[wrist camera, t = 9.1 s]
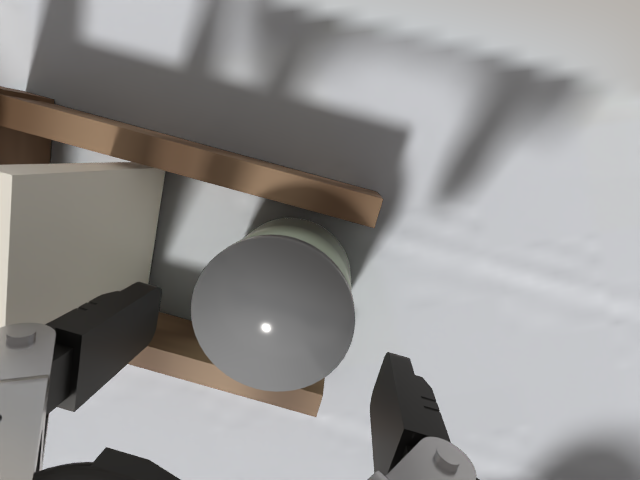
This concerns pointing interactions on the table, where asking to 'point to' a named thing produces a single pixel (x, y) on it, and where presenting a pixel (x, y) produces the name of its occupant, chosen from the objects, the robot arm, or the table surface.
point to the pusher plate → (73, 234)
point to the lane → (198, 163)
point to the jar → (276, 306)
